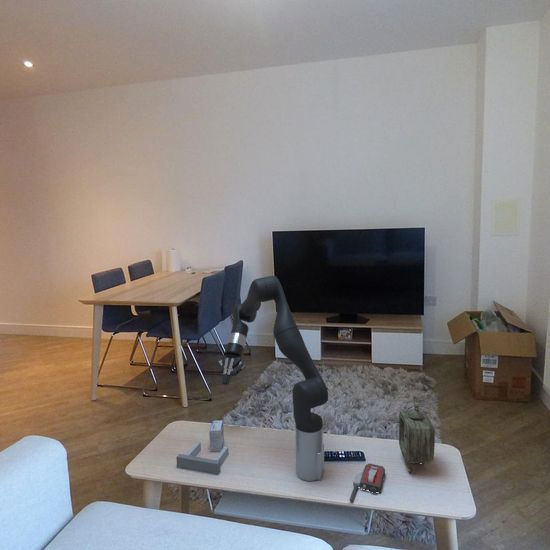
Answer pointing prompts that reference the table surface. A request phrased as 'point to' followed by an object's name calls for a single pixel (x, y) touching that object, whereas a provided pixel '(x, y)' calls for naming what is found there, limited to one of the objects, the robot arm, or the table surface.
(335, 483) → the table surface
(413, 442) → the olive fabric tall bag
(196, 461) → the dock
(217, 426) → the medicine box
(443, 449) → the table surface
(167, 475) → the table surface
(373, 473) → the walkie-talkie
